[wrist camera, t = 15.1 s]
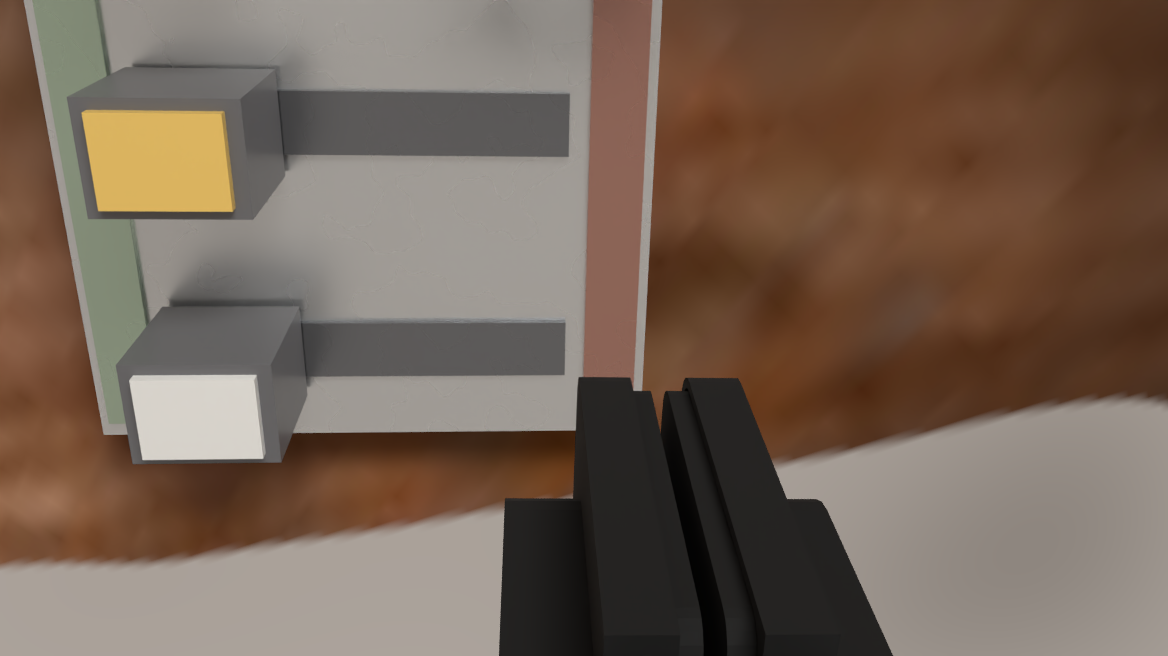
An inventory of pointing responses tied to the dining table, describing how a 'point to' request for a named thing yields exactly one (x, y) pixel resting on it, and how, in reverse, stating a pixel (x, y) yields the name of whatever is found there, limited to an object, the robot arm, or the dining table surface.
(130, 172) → the block
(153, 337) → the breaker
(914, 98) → the dining table surface
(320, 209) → the panel
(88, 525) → the dining table surface
